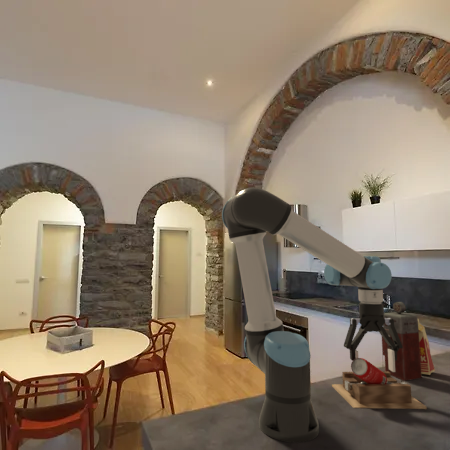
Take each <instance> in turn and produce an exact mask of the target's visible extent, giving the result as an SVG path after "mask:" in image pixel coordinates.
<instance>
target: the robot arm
mask: <svg viewBox="0 0 450 450" xmlns="http://www.w3.org/2000/svg"><path fill="white" fill-rule="evenodd" d="M221 219H222V222H223V225H224V226H225V228H226V229H227V233H228V238H229V241H230V242H232V243H233V244H234V245H235V249H236V250H235V251H236V256H237V261H238V262H237V263H238V268H239V274H240V279H241V284H242V285H241V286H242V291H243V296H244V302H245V303H244V304H245V308H246V309H245V310H246V314H247V320H248V321H247V323H246V324H245V326H244V332H245V338H244V341H243V348H244V352H245V355H246V356H247V358H248V360H249V361H250V362H251V363H252V364H253V365H254V366H255V367H257V368H258V369H259V370H260V371H261V372H262V373H263V374H264V376H265V377H264V382H265V383H264V389H265V390H264V391H265V392H264V393H265V398H264V400H263V404H262V407H261V410H260V413H259V418H258V427H259V429H260V431H261V432H262V433H263V434H265V435H266V436H268V437H270V438H272V439H274V440H278V441H281V442H286V443H306V442H310V441H313V440H314V439H316V438H317V437H318V435H319V434H320V426H319V425H320V424H319V420H318V417H317V414H316V412H315V409H314V406H313V403H312V393H311V391H312V389H311V388H312V386H311V384H312V383H311V350H310V344H309V341H308V340H307V339H306V338H305V336H303V335H301V334H298V333H295V332H291V331H285V330H284V324H283V321H282V320H281V319H280V318H279V317H277V313H276V309H275V308H276V307H275V302H274V296H273V291H272V286H271V280H270V275H269V268H268V263H267V257H266V252H265V247H264V237H265V236H266V235H267V233H268V234H270V235H272V236H276V235H279V236H280V237H283V238H284V239H285V240H287V241H289V242H290V243H292V244H293V245H296V246H297V247H299V248H300V249H302V250H304V251H305V252H306V253H308V254H310V255H312V256H313V257H315V258H316V259H318V260H320V261H321V262H323V263H325V264H326V265H325V266H324V269H323V272H324V273H323V276H324V279H325V281H326V283H327V284H328V285H331V286H348V287H355V288H356V287H357V291H358V301H359V303H358V313H359V317H358V318H355V317H350V318H349V327H348V330H347V334H346V336H345V339H344V343H343V347H344V348H346V349H348V350H349V358H350V360H351V361H353V360H354V359H356V358H359V350H357V349H358V347H359V345H360V343H361V342H362V341H363V338H364V337H365V336H366V334H368V332H371V333H372V332H375V333H376V332H377V333H379V334H380V336H381V338H382V337H383V338H384V340H385V341H386V343H387V344H388V345H389V347H390V348H391V349H388V365H389V370H391V371H392V372H395V360H397V351H398V350H399V349H402V348H403V346H402V344H401V341H400V339H399V336H398V334H397V331H396V329H395V327H394V320H393V319H391V318H384V313H385V312H384V311H385V308H384V307H385V306H384V304H383V302H384V292H383V291H384V290H383V289H386V288H387V287H388V286H389V285H390V283H391V281H392V276H393V275H392V271H391V269H390V267H389V266H388V265H387V264H386V263H384V262H382V261H381V258H380V256H377V255H376V256H375V255H367V256H364V255H362V254H361V253H359V252H357V251H356V250H355V249H354V248H351V247H349V246H348V245H347V244H346V243H344V242H342V241H341V240H339V239H337V238H335V237H334V236H333V235H331V234H329V232H326V231H325V230H323V229H322V228H320V227H318V226H317V225H316V224H314V223H312V222H311V221H309V220H308V219H306V218H305V217H303V216H301V215H300V214H298V213H297V212H295V211H294V209H293V206H292V205H291V204H289V203H288V202H286V201H285V200H283V199H282V198H280V197H278V196H277V195H275V194H273V193H271V192H269V191H267V190H265V189H262V188H259V187H248V188H244V189H242V190H241V191H239V192H238V193H237V194H235V195H233V196H232V197H230V198H229V199H228V200H227V201H226V202H225V204H224V206H223V207H222V211H221ZM384 323H386V324H387V327H388V329H389V332H390V334H391V336H392V339H393V341H394V343H393V341H392V340H391V338H390V337H389V336H388V334H387V333H386V331H385V329H384V328H383V325H384ZM358 325H360V327H359V328H358V331H357V332H356V330H357V326H358ZM355 333H356V335H355Z"/></svg>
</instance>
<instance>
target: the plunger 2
mask: <svg viewBox="0 0 450 450" xmlns="http://www.w3.org/2000/svg"><path fill="white" fill-rule="evenodd" d="M400 383H401V384H408V385H409V383H408V382H407V381H404V380H401V379H400ZM386 384H392V383H391V382H389V381H387V383H386Z"/></svg>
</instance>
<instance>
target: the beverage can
mask: <svg viewBox="0 0 450 450" xmlns="http://www.w3.org/2000/svg"><path fill="white" fill-rule="evenodd" d="M351 361H352V360H351ZM350 369H351V370H352V371H351V372H353V373H354V375H356V376H357V377H359V378H360V379H362V380H363V381H365V382H367V383H368V384H386V383H387V377H386V375H385V374H384V372H382V371H383V370H381V369H379V368H378V367H376V366H375V365H374V364H373V363H371V362H370V361H368V360H367V359H366V358H363V357H358V358H356V359H354V360H353V361H352V362H351V365H350Z"/></svg>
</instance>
